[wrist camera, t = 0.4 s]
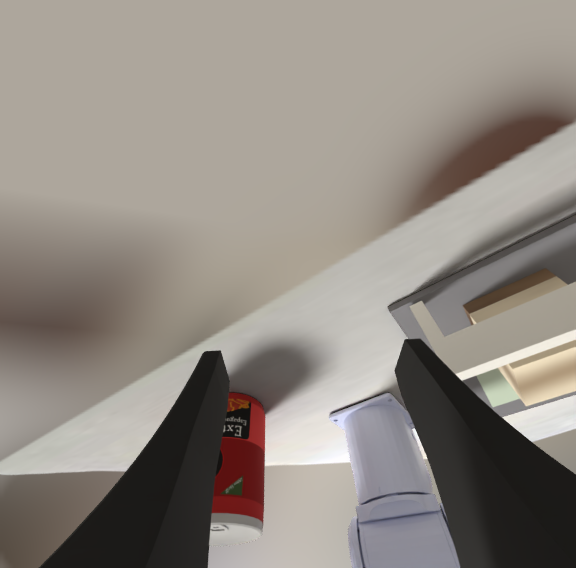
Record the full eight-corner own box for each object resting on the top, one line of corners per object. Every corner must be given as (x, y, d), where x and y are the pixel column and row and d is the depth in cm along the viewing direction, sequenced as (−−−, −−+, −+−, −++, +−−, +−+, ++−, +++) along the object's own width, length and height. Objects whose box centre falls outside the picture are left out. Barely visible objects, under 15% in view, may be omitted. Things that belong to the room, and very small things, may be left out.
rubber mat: (613, 376, 31) (618, 381, 31) (467, 422, 37) (469, 427, 36) (621, 192, 18) (630, 196, 17) (387, 306, 23) (390, 312, 23)
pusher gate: (606, 223, 18) (731, 283, 13) (413, 313, 22) (453, 383, 18) (607, 212, 18) (736, 269, 13) (409, 306, 22) (448, 376, 17)
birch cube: (553, 314, 24) (622, 376, 19) (479, 343, 26) (526, 406, 21) (545, 268, 21) (626, 328, 16) (462, 305, 23) (512, 369, 18)
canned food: (250, 384, 29) (241, 518, 21) (275, 419, 34) (275, 540, 25) (184, 398, 30) (149, 531, 22) (217, 430, 35) (199, 549, 27)
